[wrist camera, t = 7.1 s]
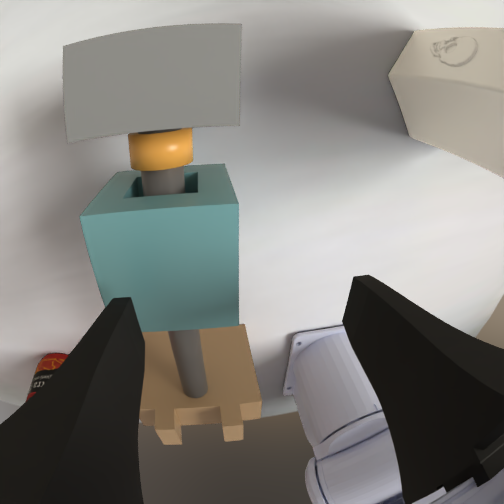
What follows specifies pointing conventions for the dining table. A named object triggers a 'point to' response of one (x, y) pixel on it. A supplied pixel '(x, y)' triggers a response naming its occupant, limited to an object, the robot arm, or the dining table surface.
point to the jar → (455, 92)
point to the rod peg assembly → (165, 183)
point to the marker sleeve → (168, 249)
